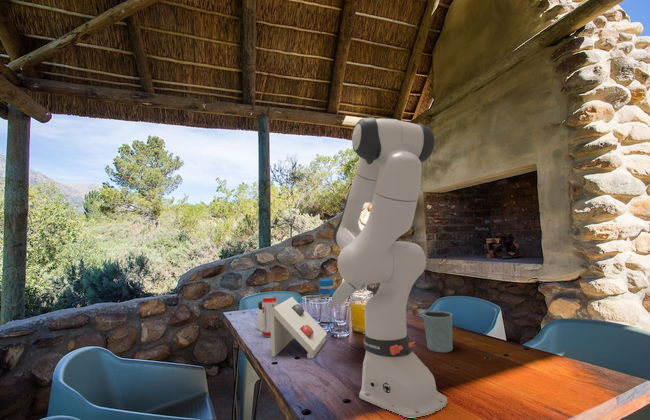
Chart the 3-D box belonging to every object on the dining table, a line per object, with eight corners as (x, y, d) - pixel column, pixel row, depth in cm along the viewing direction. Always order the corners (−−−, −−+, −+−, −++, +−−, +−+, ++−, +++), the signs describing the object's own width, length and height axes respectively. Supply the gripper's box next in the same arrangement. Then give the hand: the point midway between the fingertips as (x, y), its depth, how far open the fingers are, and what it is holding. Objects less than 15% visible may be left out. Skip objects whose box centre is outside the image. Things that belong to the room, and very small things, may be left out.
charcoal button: (305, 316, 132) (305, 303, 132) (302, 318, 128) (302, 305, 129) (293, 315, 133) (293, 303, 134) (290, 318, 129) (289, 305, 130)
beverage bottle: (339, 322, 160) (337, 279, 162) (322, 324, 157) (320, 281, 158) (332, 318, 168) (330, 277, 169) (316, 320, 165) (314, 279, 166)
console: (327, 340, 134) (325, 296, 135) (314, 358, 114) (312, 307, 115) (290, 338, 137) (288, 296, 138) (271, 356, 118) (270, 307, 119)
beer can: (279, 333, 145) (278, 295, 147) (275, 337, 139) (274, 298, 140) (265, 333, 146) (264, 295, 147) (260, 337, 140) (260, 298, 141)
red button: (315, 337, 123) (314, 323, 123) (312, 341, 119) (311, 326, 119) (301, 337, 124) (301, 323, 124) (298, 340, 120) (298, 326, 120)
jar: (264, 325, 158) (264, 299, 159) (280, 326, 156) (279, 300, 156) (254, 331, 150) (254, 303, 151) (270, 332, 147) (270, 304, 148)
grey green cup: (444, 355, 113) (442, 318, 114) (418, 348, 121) (416, 313, 122) (460, 348, 119) (458, 313, 120) (434, 341, 127) (432, 309, 128)
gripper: (355, 267, 129) (331, 293, 131) (346, 274, 109) (318, 304, 111) (367, 279, 128) (343, 305, 130) (361, 288, 108) (332, 318, 110)
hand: (331, 304), depth 120 cm, fingers open, 6 cm apart
